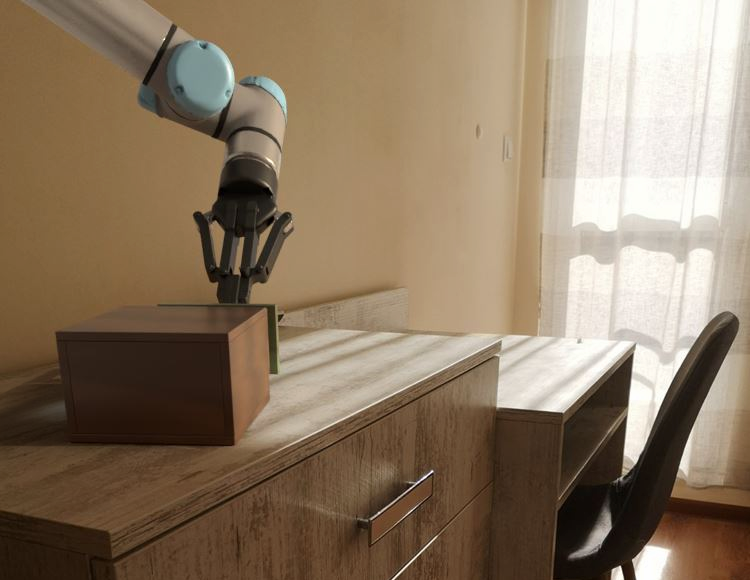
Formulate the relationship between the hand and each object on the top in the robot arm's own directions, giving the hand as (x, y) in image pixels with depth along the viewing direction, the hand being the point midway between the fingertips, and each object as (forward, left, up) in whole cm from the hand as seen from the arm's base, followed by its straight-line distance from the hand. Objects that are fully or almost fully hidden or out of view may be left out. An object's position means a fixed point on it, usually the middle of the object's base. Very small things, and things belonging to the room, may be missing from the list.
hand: (229, 324), depth 98 cm
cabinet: (+21, -8, -6) cm, 23 cm away
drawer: (+10, -3, -5) cm, 11 cm away
